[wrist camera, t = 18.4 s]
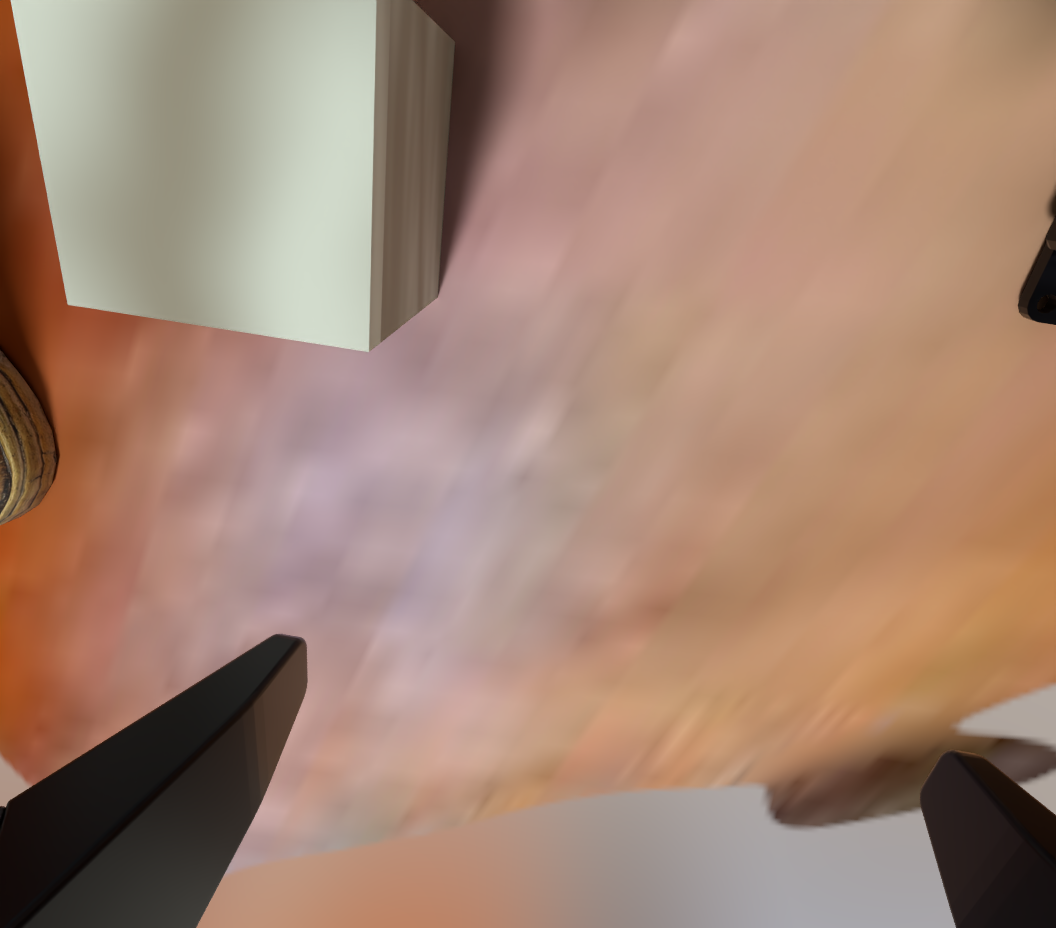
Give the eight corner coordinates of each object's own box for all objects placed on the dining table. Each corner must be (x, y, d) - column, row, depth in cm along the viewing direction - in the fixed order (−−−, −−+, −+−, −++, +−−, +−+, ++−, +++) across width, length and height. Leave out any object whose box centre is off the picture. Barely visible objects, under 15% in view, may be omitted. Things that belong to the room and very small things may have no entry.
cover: (455, 41, 16) (377, -35, 10) (437, 297, 19) (368, 352, 13) (208, 6, 16) (-7, -88, 10) (228, 265, 19) (67, 304, 13)
